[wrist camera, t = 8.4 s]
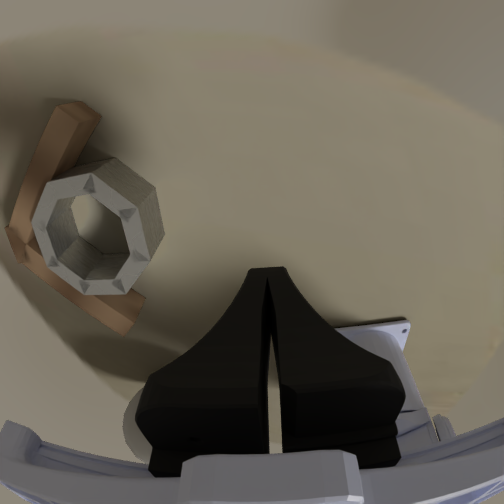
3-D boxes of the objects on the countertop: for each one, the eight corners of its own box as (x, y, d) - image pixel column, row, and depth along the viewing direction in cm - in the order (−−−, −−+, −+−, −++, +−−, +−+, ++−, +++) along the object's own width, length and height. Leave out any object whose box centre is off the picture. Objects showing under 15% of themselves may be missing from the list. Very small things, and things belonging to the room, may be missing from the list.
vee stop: (150, 312, 25) (140, 337, 22) (65, 311, 25) (51, 333, 23) (98, 95, 17) (75, 99, 14) (6, 128, 17) (-20, 137, 15)
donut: (145, 390, 31) (124, 471, 22) (130, 369, 29) (103, 454, 20) (236, 384, 29) (231, 476, 21) (226, 361, 28) (217, 461, 19)
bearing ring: (171, 264, 23) (159, 293, 20) (78, 269, 23) (58, 295, 20) (148, 152, 19) (129, 165, 16) (48, 172, 19) (21, 188, 16)
